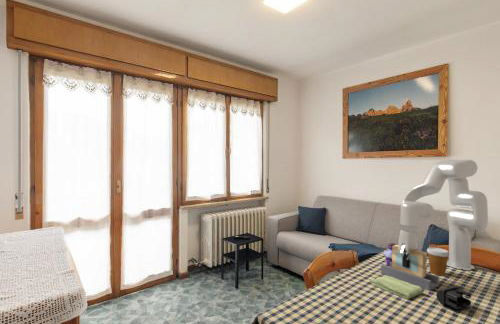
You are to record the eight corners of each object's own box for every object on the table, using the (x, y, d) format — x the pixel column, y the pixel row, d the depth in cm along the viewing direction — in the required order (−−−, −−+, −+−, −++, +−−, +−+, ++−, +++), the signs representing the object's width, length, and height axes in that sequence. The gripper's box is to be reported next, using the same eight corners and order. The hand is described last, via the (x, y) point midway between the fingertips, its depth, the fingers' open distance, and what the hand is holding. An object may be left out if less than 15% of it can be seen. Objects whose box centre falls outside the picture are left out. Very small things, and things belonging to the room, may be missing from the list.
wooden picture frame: (396, 266, 135) (396, 244, 135) (426, 276, 123) (426, 252, 123) (391, 267, 133) (392, 245, 133) (422, 278, 121) (422, 254, 121)
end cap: (451, 299, 109) (452, 283, 109) (471, 308, 102) (471, 290, 102) (435, 303, 105) (436, 286, 105) (455, 313, 99) (455, 295, 99)
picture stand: (391, 269, 140) (391, 261, 140) (439, 285, 121) (439, 276, 122) (381, 273, 135) (381, 265, 135) (428, 290, 116) (429, 281, 116)
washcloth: (386, 279, 128) (386, 272, 129) (425, 295, 113) (425, 287, 113) (368, 284, 122) (369, 277, 122) (407, 302, 107) (407, 294, 107)
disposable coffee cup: (441, 270, 140) (441, 247, 140) (453, 277, 131) (453, 253, 131) (422, 269, 141) (422, 246, 141) (433, 276, 132) (433, 252, 132)
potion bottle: (401, 264, 147) (401, 243, 147) (400, 269, 140) (401, 246, 140) (384, 261, 152) (384, 240, 152) (382, 266, 144) (383, 244, 145)
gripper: (409, 225, 136) (409, 260, 136) (392, 228, 127) (391, 266, 127) (425, 228, 130) (425, 265, 129) (408, 232, 121) (407, 272, 120)
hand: (408, 265), depth 128 cm, fingers closed on wooden picture frame, 4 cm apart
